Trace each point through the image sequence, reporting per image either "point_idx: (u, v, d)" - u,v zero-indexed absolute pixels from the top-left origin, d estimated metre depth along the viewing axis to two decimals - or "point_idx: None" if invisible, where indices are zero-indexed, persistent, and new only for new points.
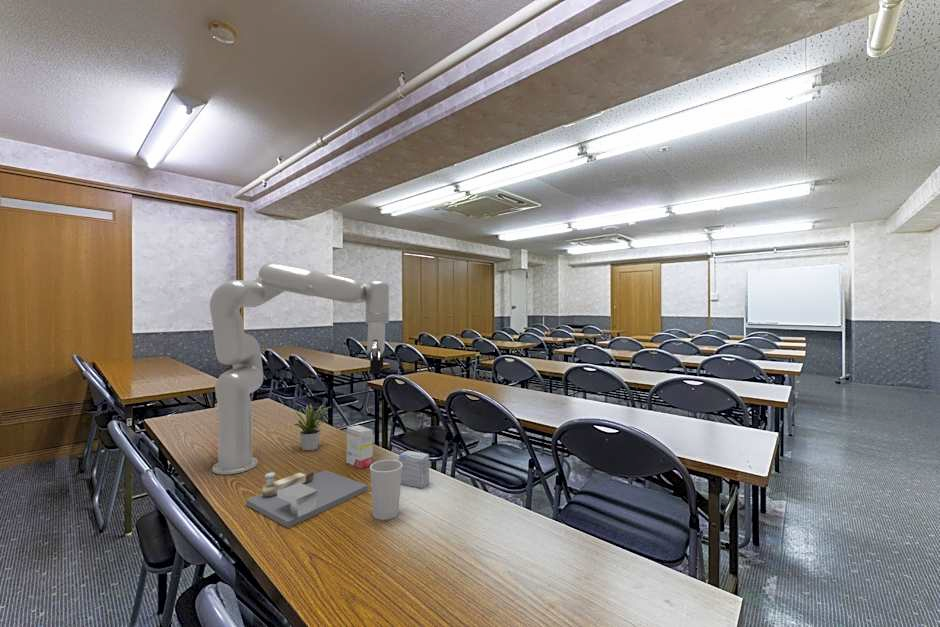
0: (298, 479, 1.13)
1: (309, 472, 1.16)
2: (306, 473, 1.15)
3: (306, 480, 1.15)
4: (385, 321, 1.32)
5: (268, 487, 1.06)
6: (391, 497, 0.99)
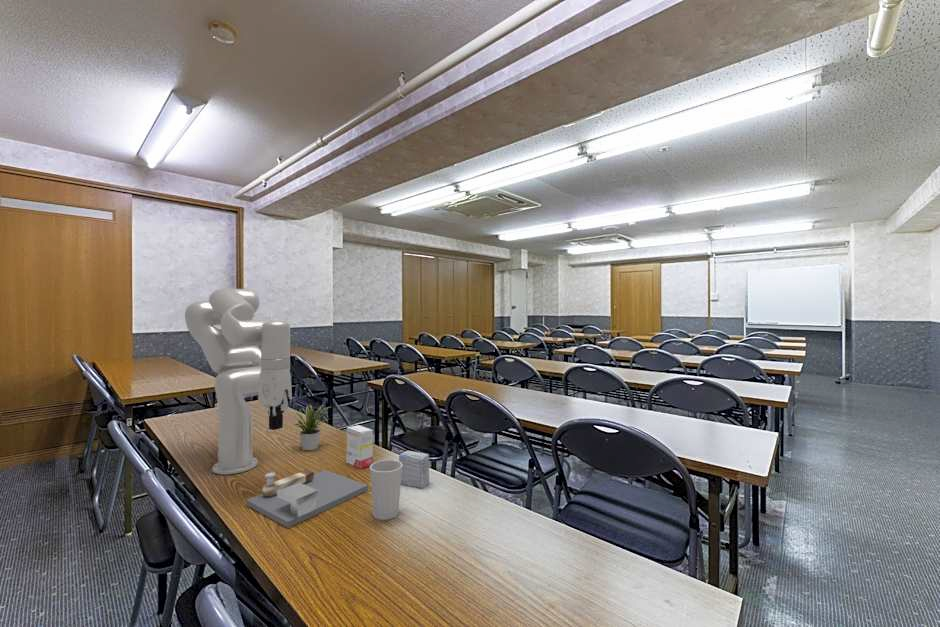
0: (298, 479, 1.13)
1: (309, 472, 1.16)
2: (306, 473, 1.15)
3: (306, 480, 1.15)
4: (289, 367, 1.17)
5: (268, 487, 1.06)
6: (391, 497, 0.98)
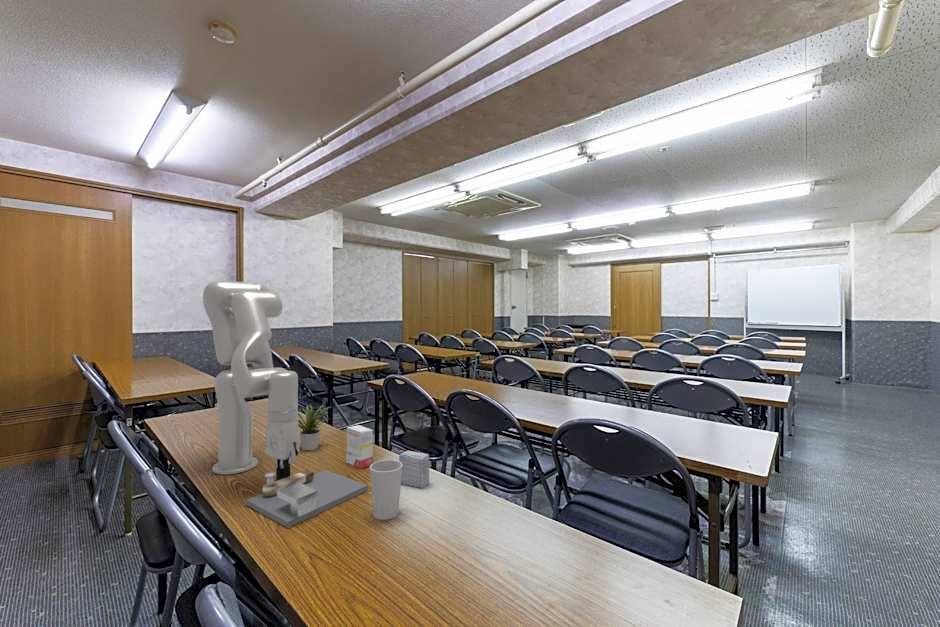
0: (298, 479, 1.13)
1: (309, 472, 1.16)
2: (306, 473, 1.15)
3: (306, 480, 1.15)
4: (297, 417, 1.14)
5: (268, 487, 1.06)
6: (391, 497, 0.99)
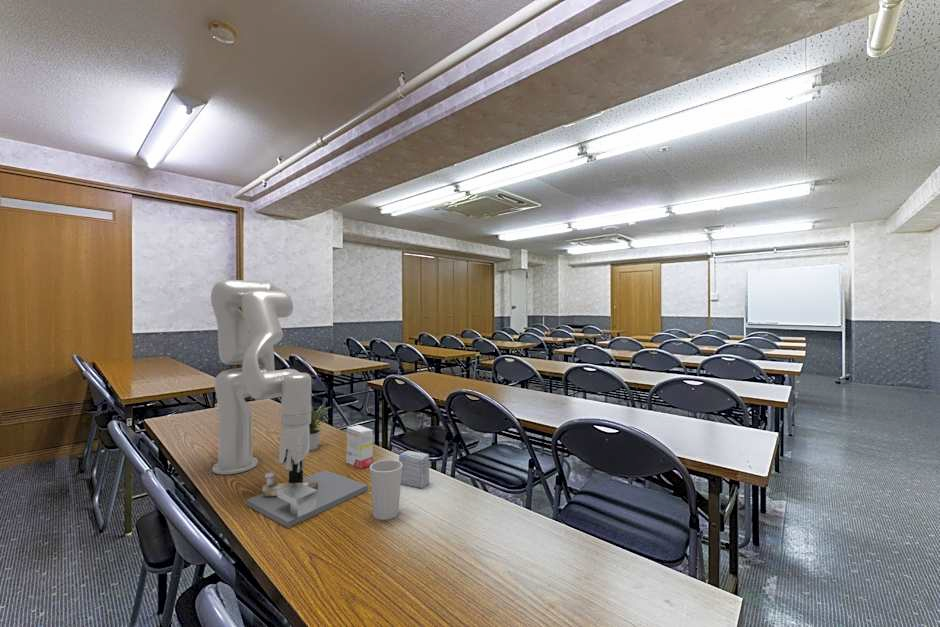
0: None
1: (312, 486, 1.07)
2: None
3: None
4: (303, 424, 1.08)
5: (265, 486, 1.07)
6: (391, 497, 0.99)
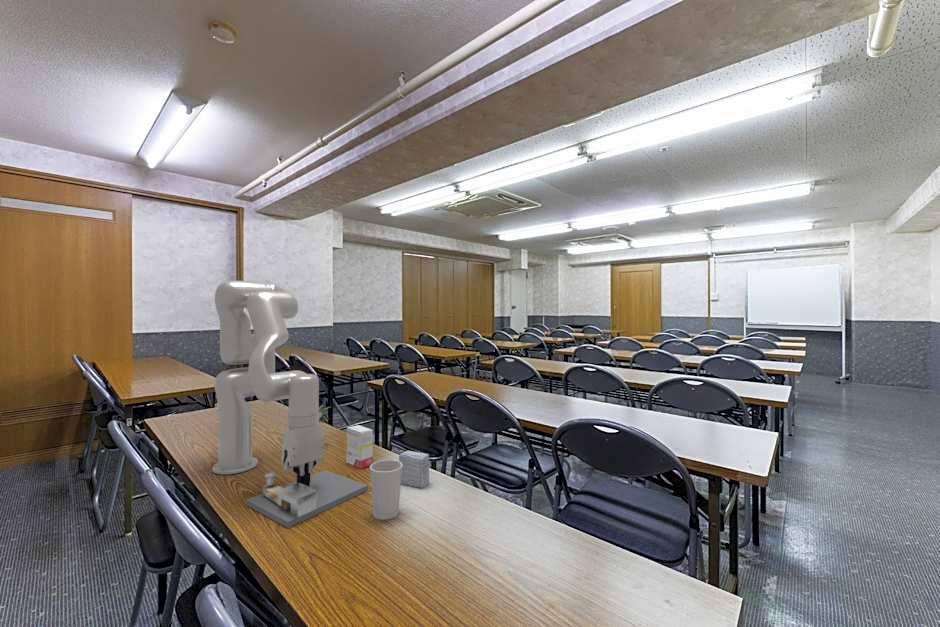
0: (277, 497, 1.02)
1: None
2: None
3: (281, 505, 1.00)
4: (301, 427, 1.06)
5: (266, 485, 1.07)
6: (391, 497, 0.99)
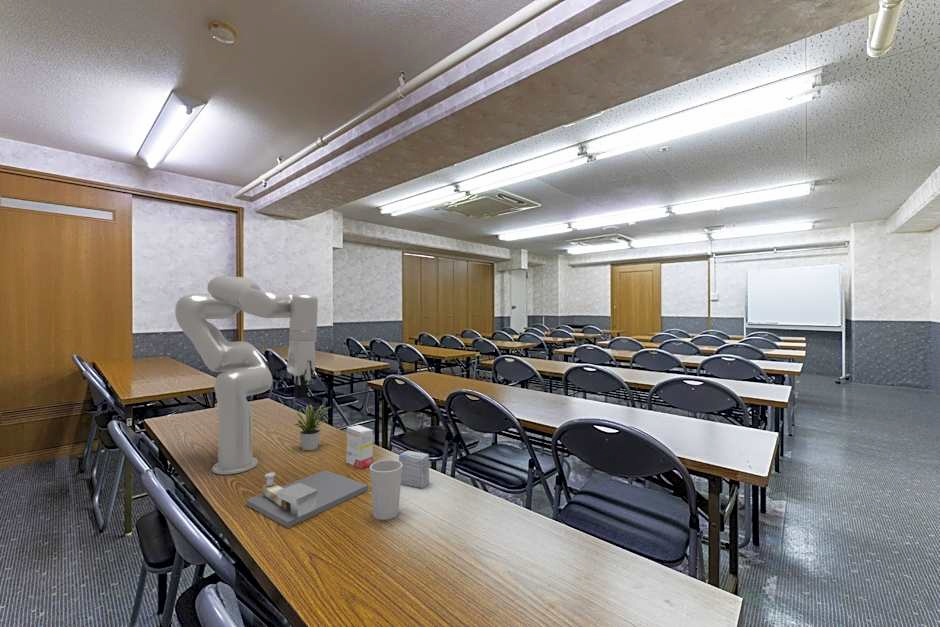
0: (277, 497, 1.02)
1: None
2: None
3: (281, 505, 1.00)
4: (315, 339, 1.20)
5: (266, 485, 1.07)
6: (391, 497, 0.99)
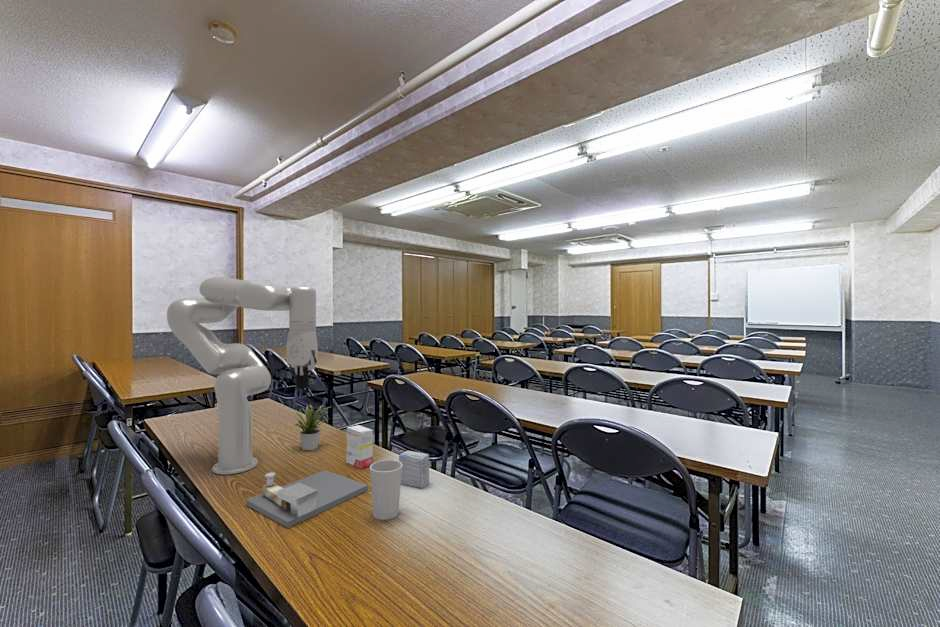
0: (277, 497, 1.02)
1: None
2: None
3: (281, 505, 1.00)
4: (315, 330, 1.23)
5: (266, 485, 1.07)
6: (391, 497, 0.99)
